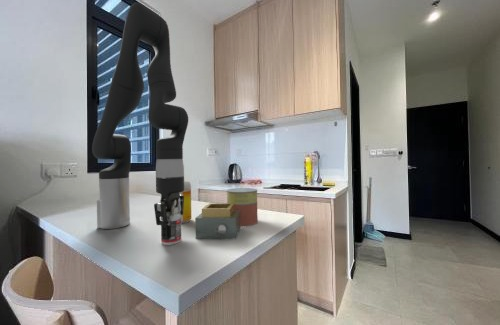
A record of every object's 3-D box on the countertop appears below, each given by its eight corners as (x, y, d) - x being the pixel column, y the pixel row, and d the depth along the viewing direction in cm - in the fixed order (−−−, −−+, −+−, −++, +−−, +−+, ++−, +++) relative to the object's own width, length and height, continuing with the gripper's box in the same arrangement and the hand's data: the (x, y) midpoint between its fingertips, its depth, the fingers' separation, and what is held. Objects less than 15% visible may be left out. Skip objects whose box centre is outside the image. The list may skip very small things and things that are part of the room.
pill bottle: (181, 244, 59) (180, 208, 59) (160, 246, 57) (159, 210, 57) (181, 237, 64) (181, 205, 64) (162, 239, 62) (161, 206, 62)
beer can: (193, 219, 85) (193, 181, 84) (187, 223, 78) (187, 182, 78) (179, 218, 85) (178, 181, 85) (172, 223, 79) (171, 182, 79)
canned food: (262, 219, 82) (262, 188, 82) (249, 228, 71) (248, 192, 71) (236, 217, 87) (236, 187, 86) (221, 224, 76) (220, 191, 76)
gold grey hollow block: (193, 240, 61) (192, 211, 61) (205, 227, 73) (204, 202, 73) (234, 241, 60) (234, 211, 60) (240, 228, 72) (239, 202, 72)
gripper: (169, 174, 68) (170, 227, 68) (142, 177, 53) (144, 244, 54) (192, 173, 67) (193, 227, 67) (171, 177, 53) (173, 245, 53)
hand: (171, 234), depth 60 cm, fingers closed on pill bottle, 5 cm apart
